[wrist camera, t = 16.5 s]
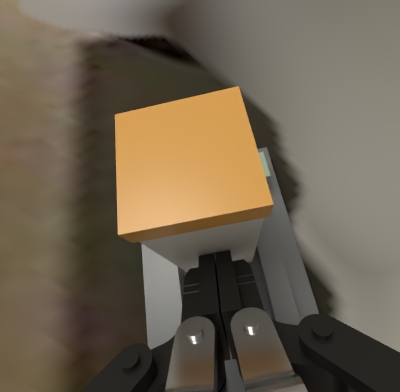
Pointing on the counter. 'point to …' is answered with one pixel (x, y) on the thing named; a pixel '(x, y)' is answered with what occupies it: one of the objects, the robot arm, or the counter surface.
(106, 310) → the counter surface
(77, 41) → the counter surface
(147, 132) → the orange-capped white pillar
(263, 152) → the grey rail base
